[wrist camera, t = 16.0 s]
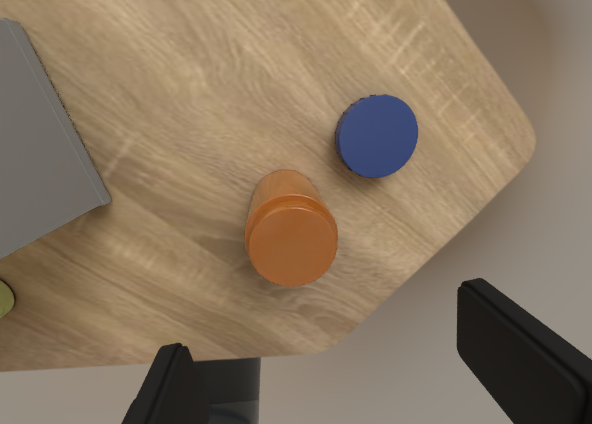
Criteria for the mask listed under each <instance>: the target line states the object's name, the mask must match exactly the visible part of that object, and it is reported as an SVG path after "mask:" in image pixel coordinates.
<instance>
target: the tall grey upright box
mask: <svg viewBox="0 0 592 424" xmlns="http://www.w3.org/2000/svg"><path fill="white" fill-rule="evenodd" d="M111 201H112V200H111V198H110V196H109V193H108V192H107V191H106V189H105V187H104V185H103V183H102V181H101V179H100V177H99V175H98V173H97V171H96V169H95V167H94V165H93V164H92V162H91V160H90V158H89V156H88V154H87V152H86V150H85V148H84V146H83V144H82V142H81V140H80V138H79V137H78V135H77V133H76V131H75V129H74V127H73V125H72V123H71V121H70V119H69V117H68V115H67V113H66V111H65V110H64V108H63V106H62V104H61V102H60V100H59V98H58V96H57V94H56V92H55V90H54V88H53V86H52V84H51V83H50V81H49V79H48V77H47V75H46V73H45V71H44V69H43V67H42V65H41V63H40V61H39V59H38V57H37V56H36V54H35V52H34V50H33V48H32V46H31V44H30V42H29V40H28V38H27V36H26V34H25V32H24V30H23V29H22V27H21V25H20V23H18V22H15V21H13V20H10V19H7V18H4V19H0V259H2V258H4V257H6V256H8V255H9V254H11V253H13V252H15V251H17V250H19V249H20V248H22V247H24V246H26V245H28V244H30V243H31V242H33V241H35V240H37V239H39V238H41V237H42V236H44V235H46V234H48V233H50V232H52V231H53V230H55V229H57V228H59V227H61V226H62V225H64V224H66V223H68V222H70V221H72V220H73V219H75V218H77V217H79V216H81V215H83V214H84V213H86V212H88V211H90V210H92V209H94V208H96V207H99V206H103V205H106V204H108V203H109V202H111Z"/></svg>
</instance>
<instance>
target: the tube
mask: <svg viewBox="0 0 592 424" xmlns="http://www.w3.org/2000/svg"><path fill="white" fill-rule="evenodd" d="M13 304H14V296H13V293H12V291H11V290H10V288H9V287H8V286H7V285H6V284H5V283H3V282H2V281H0V318H1V317H3V316H4V315H5V314H7V313H8V312H9V311H10V310H11V309H12V307H13Z"/></svg>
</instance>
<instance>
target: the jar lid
mask: <svg viewBox="0 0 592 424" xmlns="http://www.w3.org/2000/svg"><path fill="white" fill-rule="evenodd" d="M343 113H344V114H343V115H342V117H341V119H340V121H339V122H338V126H337V129H336V132H335V133H336V135H335V144H336V149H337V154H338V155H339V157H340V158H341V160H342V161H341V162H343V163H344V164H345V165H346V166H347V167H348V169H350V170H351V171H352V170H353V171H354V172H356V173H357V174H358V175H361V176H365V177H369V178H380V177H384V176H387V175H390V174H392V173H394V172H396V171H397V170H399V169H400V168H401V167H402V166H403V165H404V164H405V163H406V162H407V161H408V160H409V158H410V157H411V155H412V153H413V151H414V149H415V146H416V143H417V138H418V126H417V121H416V118H415V116H414V114H413V112H412V110H411V109H410V107H409V106H408V105H407V104H406V103H404V102H403V101H402V100H400V99H398V98H396V97H393V96H389V95H386V94H385V95H377V96H376V95H370V97H366V98H360V100H359V101H357V102H355V103H354V104H351V106H350V107H349V108H348V109H347V110H346V111H345V112H343Z"/></svg>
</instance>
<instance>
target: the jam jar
mask: <svg viewBox="0 0 592 424" xmlns="http://www.w3.org/2000/svg"><path fill="white" fill-rule="evenodd" d="M337 237H338V233H337V226H336V223H335V220H334V218H333V216H332V214H331V212H330V211H329V209H328V207H327V206H326V204H325V202H324V200H323V199H322V197H321V195H320V194H319V192H318V190H317V189H316V187H315V185H314V184H313V183H312V181H311V180H310V179H309V178H307V177H306V176H305V175H303V174H301V173H299V172H296V171H292V170H280V171H276V172H273V173H271V174H269V175H267V176H266V177H264V178H263V179H262V180H261V181H260V182H259V183H258V184H257V186H256V188H255V190H254V192H253V196H252V200H251V205H250V209H249V214H248V219H247V223H246V228H245V234H244V242H245V247H246V251H247V253H248V255H249V257H250V260H251V262H252V264H253V266H254V268H255V269H256V271H257V272H258V273H259V274H260V275H261V276H262V277H263V278H265V279H266V280H268V281H270V282H272V283H274V284H277V285H281V286H288V287H295V286H301V285H305V284H308V283H311V282H313V281H315V280H316V279H318V278H319V277H321V276H322V275H323V274H324V273H325V272H326V271H327V270H328V269H329V267H330V266H331V264H332V262H333V260H334V258H335V254H336V250H337V240H338V239H337Z"/></svg>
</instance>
